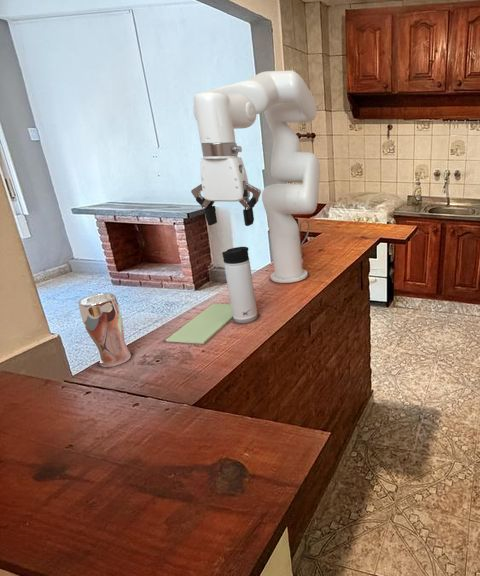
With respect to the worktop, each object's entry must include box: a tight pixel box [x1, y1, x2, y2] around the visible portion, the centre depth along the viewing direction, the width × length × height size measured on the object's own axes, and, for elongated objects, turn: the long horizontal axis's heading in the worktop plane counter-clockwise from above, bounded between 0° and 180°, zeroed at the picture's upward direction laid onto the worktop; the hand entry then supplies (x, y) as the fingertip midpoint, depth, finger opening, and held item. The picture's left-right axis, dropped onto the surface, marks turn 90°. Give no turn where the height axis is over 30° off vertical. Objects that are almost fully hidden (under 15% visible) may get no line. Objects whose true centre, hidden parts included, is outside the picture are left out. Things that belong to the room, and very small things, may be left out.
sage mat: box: [165, 302, 233, 345], centre depth 106 cm, size 22×10×1 cm, turn 172°
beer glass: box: [77, 292, 132, 368], centre depth 87 cm, size 7×7×15 cm
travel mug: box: [221, 246, 259, 324], centre depth 104 cm, size 6×7×20 cm
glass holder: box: [293, 217, 310, 258], centre depth 160 cm, size 9×14×15 cm, turn 139°
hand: (230, 224), depth 98 cm, fingers open, 9 cm apart
